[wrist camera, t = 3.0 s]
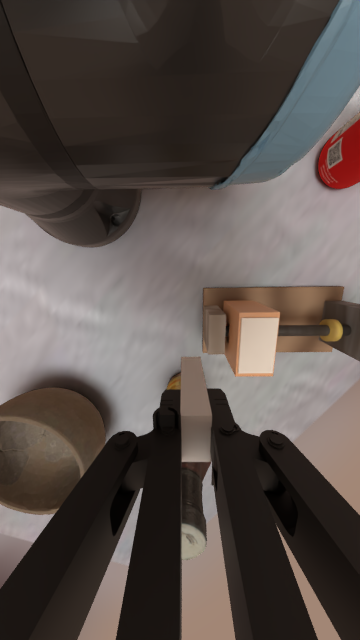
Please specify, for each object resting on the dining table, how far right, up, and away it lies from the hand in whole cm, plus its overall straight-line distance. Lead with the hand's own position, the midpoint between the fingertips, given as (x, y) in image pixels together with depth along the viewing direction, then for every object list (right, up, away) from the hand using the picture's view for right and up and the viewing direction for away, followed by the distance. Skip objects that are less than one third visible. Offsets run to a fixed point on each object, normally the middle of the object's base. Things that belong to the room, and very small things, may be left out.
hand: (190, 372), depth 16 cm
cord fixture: (+13, +4, +15) cm, 20 cm away
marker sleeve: (+7, +3, +12) cm, 14 cm away
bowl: (-21, -13, +20) cm, 32 cm away
